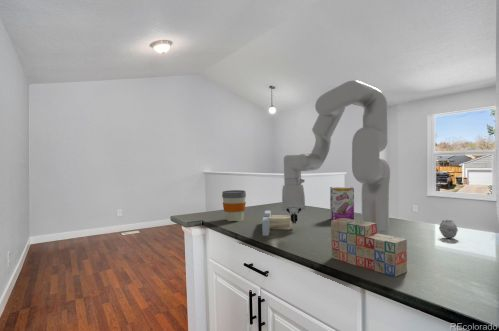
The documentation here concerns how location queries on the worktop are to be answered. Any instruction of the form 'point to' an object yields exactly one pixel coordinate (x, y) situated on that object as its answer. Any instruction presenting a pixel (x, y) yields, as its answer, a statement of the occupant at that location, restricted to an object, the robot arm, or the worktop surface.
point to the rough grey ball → (448, 228)
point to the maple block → (280, 222)
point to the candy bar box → (341, 203)
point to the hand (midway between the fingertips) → (294, 222)
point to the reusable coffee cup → (234, 204)
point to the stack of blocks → (368, 247)
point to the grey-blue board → (266, 223)
